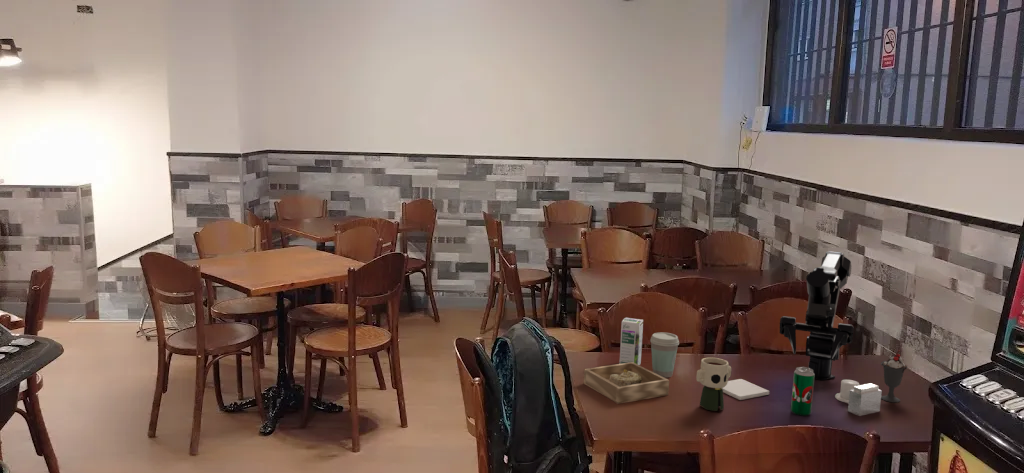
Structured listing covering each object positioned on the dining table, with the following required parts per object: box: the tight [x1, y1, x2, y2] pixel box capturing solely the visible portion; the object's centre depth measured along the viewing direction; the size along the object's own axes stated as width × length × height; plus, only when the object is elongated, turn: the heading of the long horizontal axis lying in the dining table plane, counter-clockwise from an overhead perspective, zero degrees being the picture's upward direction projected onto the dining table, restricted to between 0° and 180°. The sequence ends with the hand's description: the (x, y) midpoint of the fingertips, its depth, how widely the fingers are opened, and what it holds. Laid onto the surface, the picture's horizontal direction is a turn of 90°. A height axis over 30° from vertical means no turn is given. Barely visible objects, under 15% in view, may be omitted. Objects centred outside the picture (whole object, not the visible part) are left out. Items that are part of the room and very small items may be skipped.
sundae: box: [880, 349, 908, 404], centre depth 212 cm, size 7×7×15 cm
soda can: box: [790, 366, 815, 417], centre depth 200 cm, size 5×5×12 cm
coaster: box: [722, 378, 770, 401], centre depth 216 cm, size 11×11×1 cm
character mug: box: [695, 357, 732, 412], centre depth 201 cm, size 11×7×13 cm, turn 113°
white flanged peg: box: [834, 379, 860, 404], centre depth 212 cm, size 7×7×5 cm
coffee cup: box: [650, 332, 680, 379], centre depth 227 cm, size 8×8×12 cm
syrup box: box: [618, 317, 644, 366], centre depth 235 cm, size 6×6×14 cm
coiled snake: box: [609, 370, 642, 387], centre depth 214 cm, size 10×10×5 cm
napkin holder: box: [847, 382, 883, 417], centre depth 203 cm, size 8×4×7 cm, turn 117°
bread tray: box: [583, 362, 670, 405], centre depth 214 cm, size 17×17×4 cm
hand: (812, 356), depth 203 cm, fingers open, 9 cm apart
